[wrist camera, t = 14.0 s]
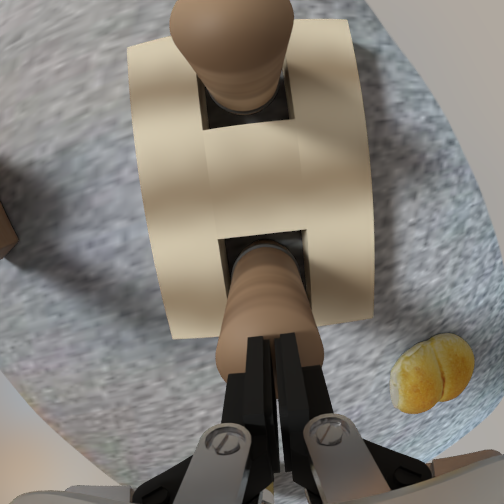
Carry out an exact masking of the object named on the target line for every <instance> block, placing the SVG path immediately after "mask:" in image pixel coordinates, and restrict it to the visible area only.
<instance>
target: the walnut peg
mask: <svg viewBox="0 0 504 504" xmlns="http://www.w3.org/2000/svg"><path fill="white" fill-rule="evenodd" d="M231 280H232V281H231V286H230V290H229V295H228V299H227V304H226V308H225V313H224V317H223V322H222V326H221V331H220V335H219V340H218V344H217V349H216V365H217V368H218V371H219V373H220V375H221V377H222V378H223V379H224V381H225V382H226V383H227V379H228V374H231V373H245V369H246V354H247V339H248V337H255V336H263V339H264V340H265V339H269V341H270V349H271V358H272V367H273V376H274V384H275V393H276V399H278V386H277V372H276V358H275V344H274V339H275V338H280V334H285V333H293V332H295V336H296V341H297V346H298V352H299V357H300V362H301V367H306V366H313V365H321V368H322V365H323V361H324V348H323V344H322V341H321V338H320V335H319V332H318V328H317V325H316V322H315V319H314V316H313V313H312V310H311V307H310V304H309V301H308V298H307V295H306V292H305V289H304V286H303V283H302V280H301V277H300V270H299V266H298V264H297V262H296V260H295V258H294V257H293V255H292V254H291V253H290V251H289V250H288V249H287V248H286V247H284V246H283V245H281V244H279V243H277V242H275V241H273V240H269V239H261V240H257V241H255V242H253V243H252V244H250V245H249V246H247V247H246V248H245V249H244V250H243V251H242V252H241V253H240V254H239V256H238V258H237V259H236V261H235V263H234V266H233V270H232V275H231Z"/></svg>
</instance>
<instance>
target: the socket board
mask: <svg viewBox="0 0 504 504" xmlns="http://www.w3.org/2000/svg"><path fill="white" fill-rule="evenodd" d="M127 58H128V76H129V90H130V102H131V113H132V123H133V133H134V141H135V149H136V157H137V165H138V172H139V179H140V185H141V192H142V198H143V204H144V210H145V216H146V221H147V227H148V232H149V238H150V243H151V248H152V253H153V258H154V262H155V267H156V272H157V276H158V281H159V285H160V290H161V294H162V298H163V302H164V307H165V311H166V315H167V319H168V323H169V326H170V330H171V334H172V338H173V339H188V338H205V337H219V335H220V331H221V326H222V322H223V317H224V313H225V308H226V304H227V299H228V295H229V290H230V286H231V280H230V273H229V267H228V260H227V253H226V247H225V240H224V238H233V237H242V236H250V235H259V234H268V233H277V232H286V231H295V230H301V232H302V244H303V256H304V270H305V284H306V295H307V298H308V301H309V304H310V307H311V310H312V313H313V316H314V319H315V322H316V325H317V326H324V325H331V324H338V323H345V322H352V321H358V320H364V319H371V318H373V310H374V216H373V196H372V181H371V168H370V157H369V147H368V137H367V129H366V121H365V113H364V106H363V99H362V93H361V86H360V80H359V75H358V69H357V64H356V58H355V53H354V48H353V44H352V39H351V34H350V30H349V25H348V21H347V20H343V19H294V24H293V29H292V33H291V36H290V40H289V44H288V48H287V51H286V55H285V59H284V63H283V66H282V71H283V77H284V84H285V91H286V98H287V105H288V113H289V120H280V121H270V122H260V123H252V124H243V125H236V126H228V127H221V128H215V129H209V121H208V113H207V104H206V96H205V87H204V83H203V82H202V81H201V79H200V78H199V77H198V75H197V74H196V72H195V71H194V70H193V68H192V67H191V66H190V64H189V63H188V61H187V60H186V59H185V57H184V56H183V55H182V53H181V52H180V51H179V49H178V48H177V47H176V45H175V43H174V42H173V40H172V37H171V36H168V37H164V38H160V39H156V40H152V41H148V42H145V43H141V44H138V45H134V46H131V47H128V48H127Z"/></svg>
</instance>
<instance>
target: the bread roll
mask: <svg viewBox="0 0 504 504" xmlns="http://www.w3.org/2000/svg"><path fill="white" fill-rule="evenodd" d="M474 363H475V361H474V355H473V351H472V349H471V348H470V346H469V345H468V343H467V342H466V341H464V340H463V339H462V338H461V337H459V336H457V335H455V334H451V333H443V334H438V335H435V336H433V337H431V338H430V339H429V340H427V341H423V342H419V343H417V344H416V345H414V346H413V347H411V348H410V349H408V350H407V351H406V352H404V353H403V354H402V355H401V356H400V358H399V359H398V360H397V361H396V363H395V365H394V366H393V368H392V370H391V375H390V394H391V400H392V403H393V406H394V408H398V409H399V410H401V411H402V412H404V413H408V414H418V413H422V412H425V411H427V410H429V409H431V408H432V407H433V406H434V405H435V404H436V403H437V402H438V401H439V402H445V401H449V400H452V399H454V398H456V397H457V396H458V395H459V394H461V393H462V391H463V390H464V389H465V387H466V386H467V385H468V383H469V381H470V379H471V376H472V373H473V370H474Z"/></svg>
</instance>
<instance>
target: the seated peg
mask: <svg viewBox="0 0 504 504" xmlns="http://www.w3.org/2000/svg"><path fill="white" fill-rule="evenodd" d="M293 24H294V13H293V8H292V5H291V3H290V1H289V0H177V2H176V3H175V5H174V7H173V10H172V13H171V16H170V34H171V37H172V40H173V42H174V43H175V45H176V47H177V48H178V49H179V51H180V52H181V53H182V55H183V56H184V57H185V59H186V60H187V61H188V63H189V64H190V66H191V67H192V68H193V70H194V71H195V72H196V74H197V75H198V77H199V78H200V79H201V81H202V82H203V83H204V85H205V86H206V88H207V90H208V92H209V94H210V96H211V98H212V99H213V100H214V102H215V103H216V104H217V105H218V106H220V107H221V108H222V109H224V110H226V111H228V112H230V113H233V114H237V115H250V114H254V113H257V112H259V111H261V110H263V109H264V108H266V107H267V106H268V105H269V104H270V103H271V102H272V100H273V99H274V98H275V96H276V94H277V91H278V89H279V84H280V74H281V70H282V66H283V63H284V59H285V55H286V51H287V48H288V44H289V40H290V36H291V33H292V29H293Z"/></svg>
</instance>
